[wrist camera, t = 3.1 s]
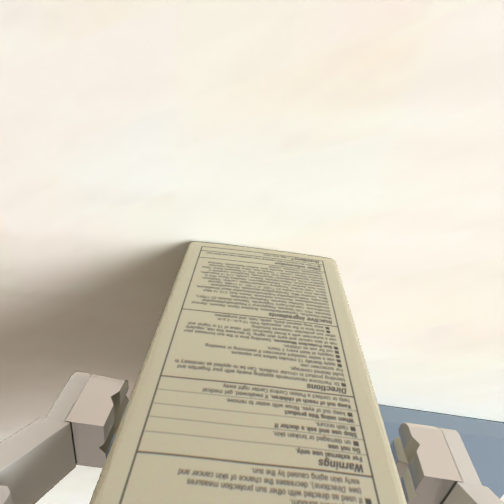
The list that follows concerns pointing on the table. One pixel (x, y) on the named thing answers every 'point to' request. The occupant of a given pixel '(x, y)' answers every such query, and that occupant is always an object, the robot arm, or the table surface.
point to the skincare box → (252, 392)
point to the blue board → (471, 432)
